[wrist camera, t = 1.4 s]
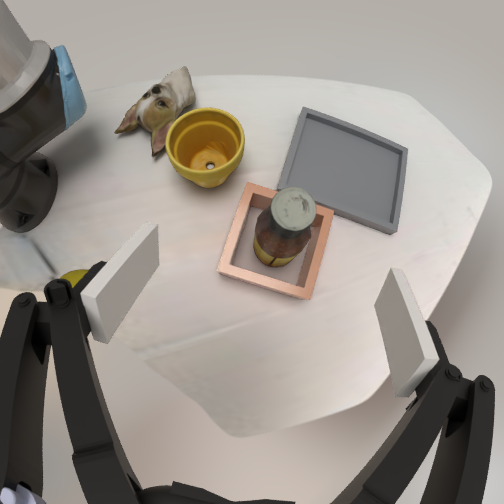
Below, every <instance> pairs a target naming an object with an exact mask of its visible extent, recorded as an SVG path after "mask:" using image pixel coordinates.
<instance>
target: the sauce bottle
mask: <svg viewBox="0 0 504 504" xmlns="http://www.w3.org/2000/svg"><path fill="white" fill-rule="evenodd" d="M315 217H316V204H315V202H314V200H313V198H312V196H311V195H310V194H309V193H308V192H307V191H305V190H303V189H302V188H298V187H287V188H283V189H282V190H280V191H279V192H278V193H276V194H275V196H274V197H273V199H272V201H271V204H270V206H269V207H268V208H266V209H265V210H264V211H263V212H262V213H261V214H260V215H259V217H258V219H257V224H256V228H255V237H254V250H255V253H256V255H257V258H259V259H260V261H262V262H263V263H264V264H266V265H268V266H270V267H279V266H284V265H286V264H287V263H289V262H290V261H291V260H292V259H293V258H294V257H295V256H296V255H298V254H299V253H300V252H301V251H302V250H303V248H304V247H305V245H306V244H307V242H308V241H309V239H310V238H311V230H310V226H311V225H312V223H313V221H314V220H315Z"/></svg>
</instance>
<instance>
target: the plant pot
mask: <svg viewBox="0 0 504 504" xmlns="http://www.w3.org/2000/svg"><path fill="white" fill-rule="evenodd" d="M244 144H245V137H244V131H243V128H242V126H241V124H240V123H239V121H238V120H237V119H236V118H235V117H234V116H232V115H231V114H229V113H228V112H226V111H223V110H221V109H217V108H198V109H194V110H192V111H189V112H187V113H185V114H183V115H182V116H180V117H179V118H178V119H177V120H176V121H175V122H174V123H173V124H172V125H171V127H170V129H169V130H168V133H167V136H166V141H165V146H166V152H167V155H168V157H169V159H170V162H171V163H172V165H173V167H174V168H175V170H176V171H177V172H178V173H179V174H180V175H181V176H183V177H185V178H186V179H189V180H191V181H193V182H194V183H196V184H197V185H199V186H201V187H205V188H212V187H216V186H218V185H220V184H222V183H223V182H224V181H225V180H226V179H227V178H228V176H229V174H231V173H232V172H233V171H234V170H235V169H236V168H237V166H238V165H239V163H240V161H241V159H242V156H243V151H244ZM208 163H213V164H214V168H212V169H208V168H207V167H206V166H207V164H208Z"/></svg>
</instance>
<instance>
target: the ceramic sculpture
mask: <svg viewBox="0 0 504 504" xmlns="http://www.w3.org/2000/svg"><path fill="white" fill-rule="evenodd" d="M195 99H196V98H195V93H194V90H193V87H192V82H191V77H190V75H189V72H188V69H187V67H185V66H184V67H182V68H181V69H178V70H176V71H173V72H171V73H170V74H168V75H167V76H166V77H165V78H164V79H163V80H162V81H161V83H159V84H155V85H153V86H152V87H151V89H150V90H149V91H148V92H146V93H145V94H144V95H143V96H142V98H141V99H140V100H139V101H138V102H137V104H135V105H133V106H132V107H131V109H130V110H128V111H127V113H126V115H125V118H124V119H123V121H122V123H121V125H120V127H119V128H118V129H117V130H116V131H115V134H118V133H122V132H128V131H132V130H134V129H136V128H137V126H138V125H139V124H140V125H141V126H142V127H143V128H144V129H145V130H147V131H150V132H153V133H152V135H151V147H152V157H154V156H156V155H157V154H159V153H160V152H162V151H163V150H164V149H165V148H166V146H165V141H166V136H167V133H168V130H169V129H170V127H171V125H172V124H173V123H174V122H175V121H176V119H177V118H178V116H179V114H180V113H181V112H182V110H183V109H184V108H185V107H186V106H188V105H191V104H193V103H194V102H195Z"/></svg>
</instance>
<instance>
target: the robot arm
mask: <svg viewBox="0 0 504 504" xmlns="http://www.w3.org/2000/svg"><path fill="white" fill-rule="evenodd" d="M86 107H87V105H86V101H85V98H84V95H83V92H82V90H81V87H80V84H79V81H78V79H77V76H76V74H75V71H74V68H73V65H72V63H71V60H70V57H69V55H68V53H67V50H66V48H65V47H64V46H63V45H61V46H58V47H55V48H54V49H53V50H51V48H50V46H49V45H48V44H47V43H46V42H45V41H42V40H35V41H30V40H29V38H28V37H27V36H26V34H25V33H24V31H23V29H22V28H21V26H20V25H19V23H18V22H17V21H16V19H15V18H14V16H13V15H12V13H11V11H10V10H9V9H8V7H7V5H6V4H5V2H4V1H3V0H0V223H1V224H2V225H3V226H4V227H6V228H7V229H10V230H12V231H15V232H26V231H29V230H31V229H33V228H34V227H36V226H37V225H38V224H39V223H40V222H41V221H42V220H43V219H44V217H45V216H46V215H47V213H48V211H49V210H50V208H51V206H52V203H53V201H54V198H55V195H56V190H57V172H56V168H55V166H54V164H53V163H52V162H51V161H50V160H49V159H48V158H47V157H46V156H44V155H43V154H41V153H38V152H36V151H37V150H38V149H40V148H41V147H42V146H44V145H45V144H47V143H48V142H49V141H51V140H52V139H53V138H55V137H56V136H58V135H59V134H61V133H62V132H63V131H65V130H67V129H68V128H69V126H71V125H72V124H73V123H75V122H76V121H77V120H79V119H80V118H81V117H82V116H83V115H84V113H85V111H86ZM158 266H159V246H158V224H155V223H149V222H145V223H144V224H143V225H142V226H141V227H140V228H139V229H138V230H137V231H136V232H135V233H134V235H133V236H132V237H131V238H130V239H129V240H128V241H127V242H126V243H125V244H124V245H123V246H122V247H121V248H120V249H119V250H118V251H117V253H116V254H115V255H114V256H113V257H112V258H111V259H110V260H109V261H108V262H103V261H101V262H99V263H97V264H95V265H93V266H92V267H91V268H90V269H89V271H88V272H87V273H86V274H85V275H84V276H83V278H81V279H80V280H79V281H78V283H77V284H76V285H75V286H74V287H73V288H72V285H71V283H70V281H68V280H67V279H55V280H53V281H51V282H49V283H48V284H47V285H46V286H45V288H44V294H45V297H46V300H47V302H37V300H36V297H35V295H34V294H33V293H30V292H25V293H21V294H19V295H18V296H17V297H15V298H14V300H13V302H12V304H11V307H10V310H9V312H8V315H7V318H6V321H5V324H4V328H3V330H2V334H1V337H0V504H46V502H45V501H44V500H43V499H42V490H43V461H42V460H43V459H42V437H43V412H44V398H45V387H46V378H47V369H48V362H49V355H50V348H51V345H52V349H53V356H54V363H55V370H56V376H57V382H58V388H59V392H60V397H61V403H62V407H63V411H64V416H65V420H66V424H67V428H68V432H69V435H70V439H71V442H72V446H73V450H74V453H73V455H72V460H73V464H74V467H75V470H76V473H77V476H78V479H79V482H80V485H81V487H82V490H83V492H84V495H85V498H86V500H87V503H88V504H295V502H292V501H279V500H269V499H263V500H252V501H238V502H233V501H229V500H227V499H225V498H223V497H220V496H218V495H216V494H214V493H211V492H209V491H207V490H205V489H203V488H198V487H194V486H190V485H186V484H182V483H178V482H175V481H173V483H172V486H168V485H165V486H155V487H150V488H146V489H144V490H143V489H142V487H141V485H140V483H139V481H138V479H137V477H136V475H135V474H134V472H133V470H132V468H131V466H130V464H129V462H128V459H127V457H126V455H125V452H124V450H123V448H122V445H121V443H120V440H119V438H118V435H117V433H116V430H115V428H114V425H113V422H112V419H111V416H110V413H109V411H108V408H107V405H106V402H105V399H104V396H103V393H102V389H101V386H100V383H99V379H98V376H97V372H96V369H95V365H94V361H93V358H92V354H91V350H90V346H89V341H88V338H87V336H88V334H89V333H90V332H92V335H93V338H94V340H97V341H100V342H102V343H106V344H108V343H109V341H110V339H111V338H112V336H113V335H114V333H115V331H116V330H117V328H118V327H119V325H120V323H121V322H122V320H123V319H124V317H125V316H126V314H127V313H128V311H129V309H130V308H131V306H132V305H133V303H134V302H135V300H136V299H137V297H138V296H139V294H140V293H141V291H142V290H143V288H144V287H145V285H146V284H147V282H148V281H149V279H150V278H151V276H152V275H153V273H154V272H155V271H156V269H157V268H158ZM374 306H375V310H376V313H377V317H378V321H379V325H380V329H381V333H382V337H383V341H384V346H385V350H386V355H387V359H388V364H389V368H390V373H391V378H392V383H393V388H394V394H395V397H409V396H410V395H411V394H412V393H413V392H414V390H415V391H416V395H417V397H416V398H415V399H414V400H413V401H412V402H411V403H410V404H409V406H408V407H407V408H406V410H407V411H406V412H405V414H404V415H403V417H402V418H401V420H400V421H399V422H398V424H397V425H396V427H395V428H394V430H393V431H392V433H391V434H390V435H389V436H388V438H387V439H386V440H385V442H384V443H383V444H382V446H381V447H380V448H379V450H378V451H377V452H376V453H375V455H374V456H373V457H372V458H371V460H370V461H369V462H368V463H367V465H366V466H365V467H364V468H363V469H362V470H361V471H360V473H359V474H358V475H357V476H356V477H355V478H354V480H353V481H352V482H351V483H350V484H349V485H348V486H347V487H346V488H345V489H344V491H342V492H341V494H340V495H339V496H338V497H337V498H336V499H335V500H334V501H333V502H332V503H330V504H395V503H396V501H397V500H398V498H399V497H400V496H401V494H402V493H403V491H404V490H405V488H406V487H407V486H408V484H409V482H410V481H411V480H412V478H413V476H414V475H415V473H416V472H417V470H418V468H419V467H420V465H421V464H422V462H423V460H424V459H425V457H426V455H427V454H428V452H429V450H430V448H431V447H432V445H433V443H434V441H435V439H436V437H437V435H438V434H439V432H440V430H441V428H442V431H441V435H440V439H439V443H438V447H437V451H436V455H435V459H434V462H433V466H432V469H431V472H430V476H429V479H428V482H427V485H426V488H425V491H424V494H423V496H422V499H421V502H420V504H482V499H483V495H484V490H485V485H486V480H487V475H488V469H489V462H490V455H491V447H492V438H493V426H494V408H495V388H494V384H493V382H492V381H491V380H490V379H489V378H488V377H486V376H484V375H479V376H478V377H477V378H476V379H475V380H474V381H471V380H468V379H465V378H463V377H462V373H461V372H460V370H459V369H458V368H457V367H456V366H454V365H452V364H450V363H449V361H448V358H447V355H446V353H445V350H444V347H443V345H442V344H441V340H440V338H439V335H438V332H437V330H436V328H435V327H434V326H433V325H432V323H431V322H430V321H425V320H424V318H423V315H422V313H421V310H420V308H419V305H418V303H417V301H416V298H415V296H414V294H413V292H412V289H411V287H410V285H409V283H408V280H407V278H406V276H405V274H404V272H403V270H401V269H396V268H391V269H390V271H389V273H388V276H387V278H386V280H385V283H384V285H383V287H382V289H381V292H380V294H379V296H378V298H377V300H376V303H375V305H374Z"/></svg>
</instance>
